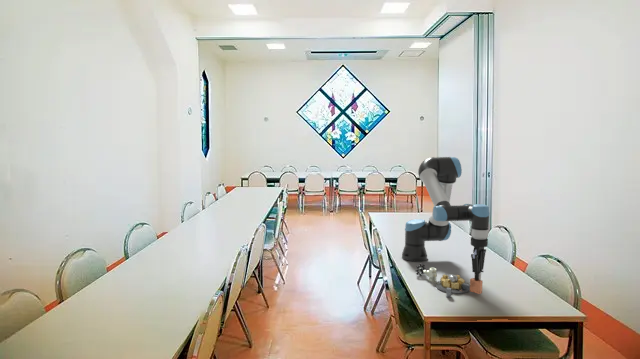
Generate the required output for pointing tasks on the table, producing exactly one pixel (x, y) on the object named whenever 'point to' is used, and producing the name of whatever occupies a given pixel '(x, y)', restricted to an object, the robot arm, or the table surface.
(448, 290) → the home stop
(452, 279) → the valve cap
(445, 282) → the tan and copper piece
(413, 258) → the robot arm
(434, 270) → the valve
